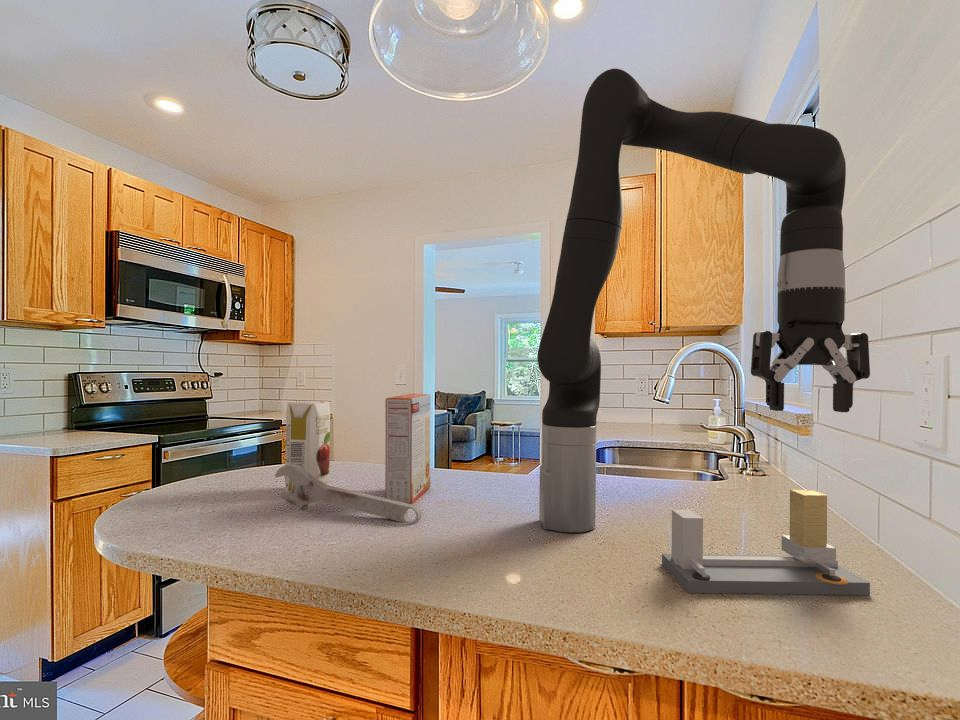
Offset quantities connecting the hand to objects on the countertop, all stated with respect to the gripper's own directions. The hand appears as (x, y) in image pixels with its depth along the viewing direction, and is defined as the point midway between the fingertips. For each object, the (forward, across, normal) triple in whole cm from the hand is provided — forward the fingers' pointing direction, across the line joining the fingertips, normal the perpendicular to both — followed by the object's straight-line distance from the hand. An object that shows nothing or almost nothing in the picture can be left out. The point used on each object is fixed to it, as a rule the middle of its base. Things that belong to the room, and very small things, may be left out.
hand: (808, 411), depth 69 cm
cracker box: (+22, -58, +40) cm, 74 cm away
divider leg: (+20, 0, -1) cm, 20 cm away
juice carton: (+22, -80, +43) cm, 93 cm away
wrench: (+22, -67, +26) cm, 76 cm away
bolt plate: (+22, -7, -1) cm, 23 cm away
